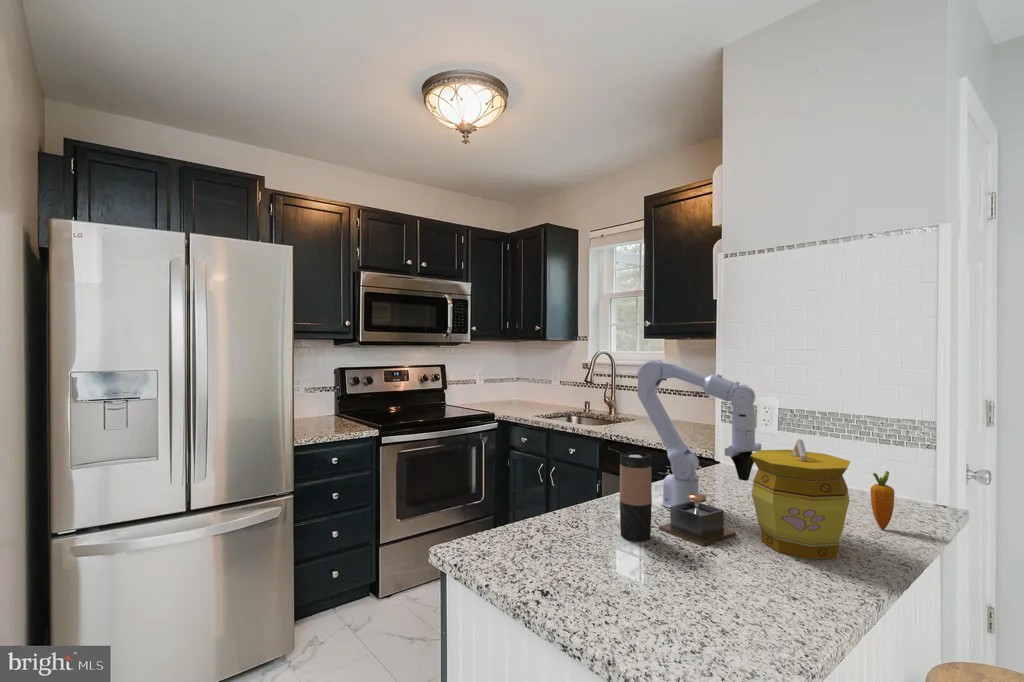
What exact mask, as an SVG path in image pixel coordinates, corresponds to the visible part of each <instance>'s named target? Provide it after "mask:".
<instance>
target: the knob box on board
mask: <svg viewBox="0 0 1024 682" xmlns="http://www.w3.org/2000/svg"><path fill="white" fill-rule="evenodd" d="M691 508H695V502H693V501H690V502H686V503H682V504H678V505H675V506H671V507H670V508H669V509H670V511H669V512H670V517H669V518H670V519H669V520H670V521H669V523H666V524H662V525H658V530H660V531H662V532H665V533H667V534H668V535H669V534H670V535H672V536H674V537H678V538H680V539H683V540H685V541H687V542H690V543H693V544H696V545H699V546H701V547H706V546H708V545H711V544H715V543H717V542H720V541H723V540H726V539H729V538H732V537H735V536H737V532H736V531H733V530H732V529H728V528H725V524H724V523H725V522H724V521H725V520H724V519H725V510H724V509H722V508H718V507H716V506H714V505H710V504H706V503H705V504H704V503H703V502H699V509H700V510H703V511H706V512H709V513H708V514H704V515H701V516H700V515H697V514H694V513H691V512H688V511H685V510H687V509H691Z"/></svg>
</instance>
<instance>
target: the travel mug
mask: <svg viewBox="0 0 1024 682" xmlns="http://www.w3.org/2000/svg"><path fill="white" fill-rule="evenodd" d="M652 482H653V481H652V455H651V454H650V453H647V452H644V451H643V452H642V451H628V452H627V453H625V454H624V453H622V452H621V453H620V455H619V519H620V520H619V522H620V524H619V525H620V529H619V530H620V536H621V537H622V538H623V539H625V540H627V541H631V542H637V543H638V542H640V543H641V542H648V541H649V540H651V536H652V533H651V532H652V510H653V509H652V507H653V506H652V505H653V503H652V502H653V501H652V500H653V499H652V498H653V497H652V496H653V495H652V492H653V487H652Z"/></svg>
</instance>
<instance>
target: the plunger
mask: <svg viewBox="0 0 1024 682" xmlns="http://www.w3.org/2000/svg"><path fill="white" fill-rule="evenodd" d="M688 500H690V501H693V502H695V508H691V509H687V510H685V511H688V512H691V513H694V514H697V515H700V516H701V515H704V514H708V513H709V512H706V511H703V510H700V509H699V503H705V502H706V501H707V495H705V494H702V493H689V494H688Z"/></svg>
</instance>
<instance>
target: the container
mask: <svg viewBox="0 0 1024 682" xmlns="http://www.w3.org/2000/svg"><path fill="white" fill-rule="evenodd" d="M752 453H753V454H752V455H750V456H751V458H752V459H753V461H754V464H755V466H756V467H757V471H756V473H755V476H754V479H753V482H752V488H751V496H752V501H753V504H754V510H755V514H756V520H757V523H758V526H759V529H760V532H761V543H762V544H763V543H764V545H765V546H767V547H768V548H770V549H771V548H772V550H773V551H774V552H776V553H778V554H781V555H785V556H790V557H794V558H798V559H802V558H803V560H807V561H822V560H824V561H826V560H837V558H838V555H839V551H840V539H841V536H842V534H843V530H844V527H845V526H844V525H845V521H846V516H847V513H848V508H849V504H850V495H849V488H848V485H847V483H846V480H845V479H844V476H843V475H844V474H845V472H846V471H847V470H848V468H849V466H850V464H851V460H847V459H845V458H840V457H837V456H833V455H830V454H826V453H821V452H813V451H807V450H806V448H805V444H804V441H803V439H800V438H799V439H797V440H796V442H795V445H794V446H793V450H792V449H761V450H758V451H754V452H752Z"/></svg>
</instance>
